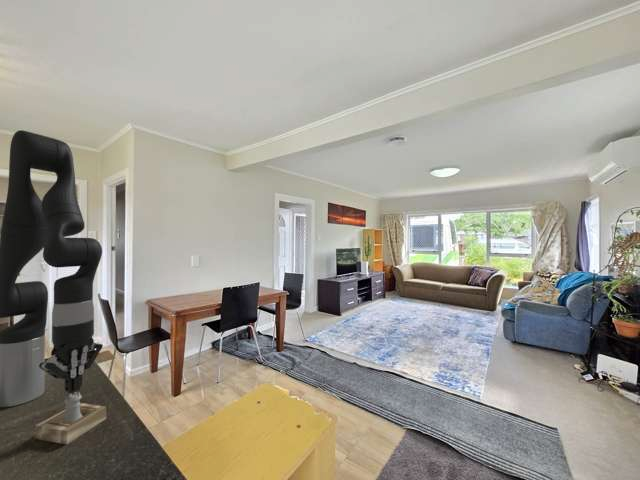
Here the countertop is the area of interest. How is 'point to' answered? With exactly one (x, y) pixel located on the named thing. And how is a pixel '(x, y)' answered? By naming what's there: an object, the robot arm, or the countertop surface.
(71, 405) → the rook chess piece
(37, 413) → the countertop surface
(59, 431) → the socket block
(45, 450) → the countertop surface
